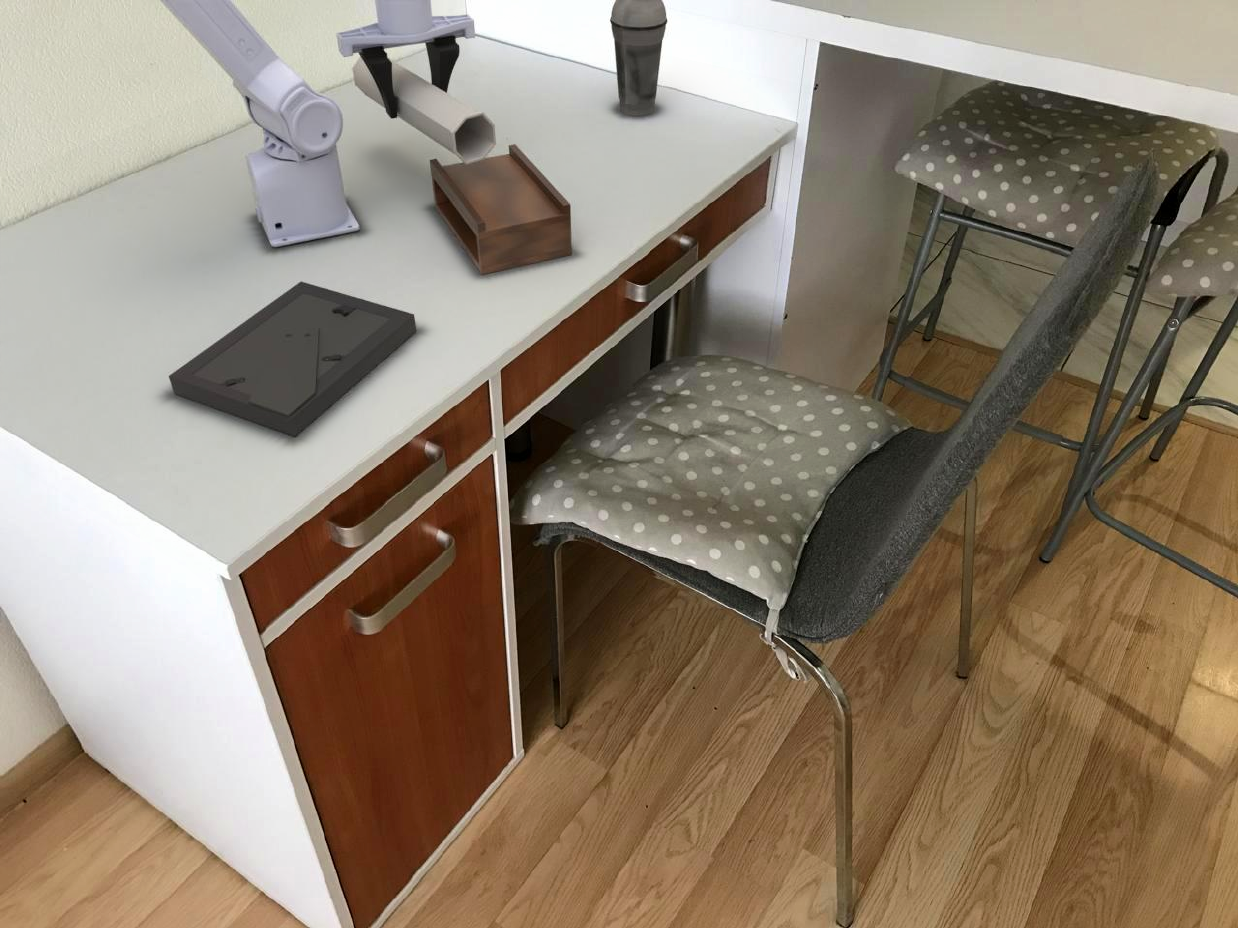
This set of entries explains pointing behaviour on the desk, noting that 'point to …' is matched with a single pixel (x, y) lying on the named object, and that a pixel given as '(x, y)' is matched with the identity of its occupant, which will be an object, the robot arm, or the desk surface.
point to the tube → (433, 112)
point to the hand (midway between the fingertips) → (416, 111)
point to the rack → (502, 211)
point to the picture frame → (294, 357)
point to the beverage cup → (638, 52)
